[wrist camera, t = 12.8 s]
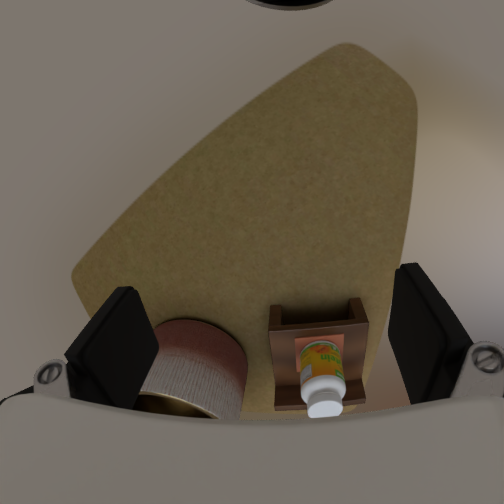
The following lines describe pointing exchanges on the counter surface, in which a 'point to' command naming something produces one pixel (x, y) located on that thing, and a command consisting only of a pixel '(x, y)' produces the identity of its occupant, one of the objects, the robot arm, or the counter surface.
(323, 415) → the supplement bottle
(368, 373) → the counter surface
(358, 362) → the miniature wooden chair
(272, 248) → the counter surface
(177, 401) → the planter
